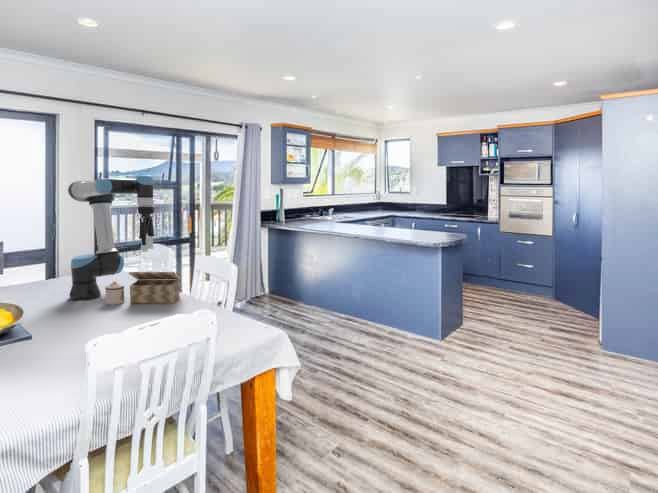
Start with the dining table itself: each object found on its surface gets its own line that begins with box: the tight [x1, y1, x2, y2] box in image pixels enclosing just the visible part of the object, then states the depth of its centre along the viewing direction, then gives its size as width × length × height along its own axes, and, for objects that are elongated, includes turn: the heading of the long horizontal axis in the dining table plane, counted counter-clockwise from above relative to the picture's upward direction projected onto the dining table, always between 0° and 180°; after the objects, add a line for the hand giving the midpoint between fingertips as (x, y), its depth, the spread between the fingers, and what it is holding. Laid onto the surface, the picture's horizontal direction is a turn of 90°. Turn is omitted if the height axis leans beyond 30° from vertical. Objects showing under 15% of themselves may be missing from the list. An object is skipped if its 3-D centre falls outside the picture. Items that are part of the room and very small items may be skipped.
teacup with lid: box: [104, 280, 125, 306], centre depth 228 cm, size 12×9×12 cm
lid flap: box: [128, 271, 181, 281], centre depth 233 cm, size 23×14×1 cm, turn 97°
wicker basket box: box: [129, 279, 180, 305], centre depth 233 cm, size 22×14×10 cm, turn 97°
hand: (147, 250), depth 219 cm, fingers open, 9 cm apart
